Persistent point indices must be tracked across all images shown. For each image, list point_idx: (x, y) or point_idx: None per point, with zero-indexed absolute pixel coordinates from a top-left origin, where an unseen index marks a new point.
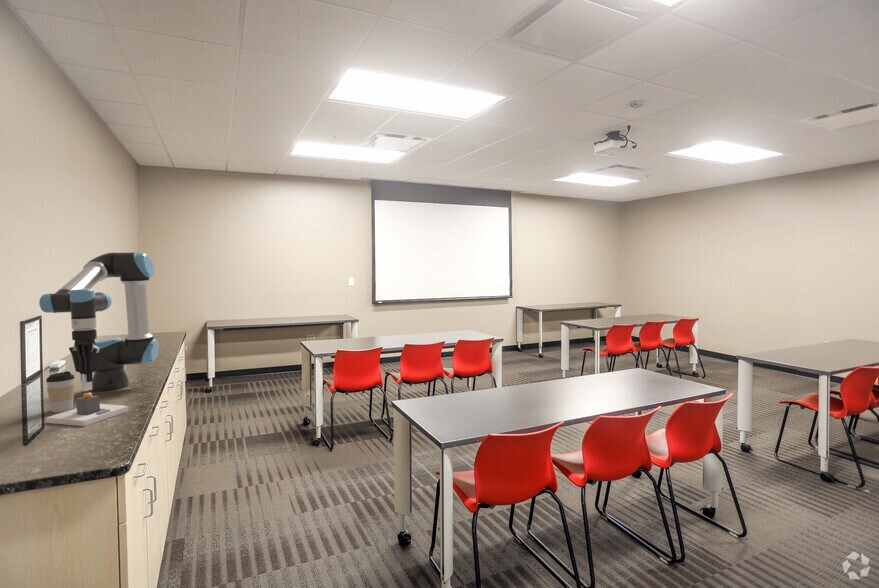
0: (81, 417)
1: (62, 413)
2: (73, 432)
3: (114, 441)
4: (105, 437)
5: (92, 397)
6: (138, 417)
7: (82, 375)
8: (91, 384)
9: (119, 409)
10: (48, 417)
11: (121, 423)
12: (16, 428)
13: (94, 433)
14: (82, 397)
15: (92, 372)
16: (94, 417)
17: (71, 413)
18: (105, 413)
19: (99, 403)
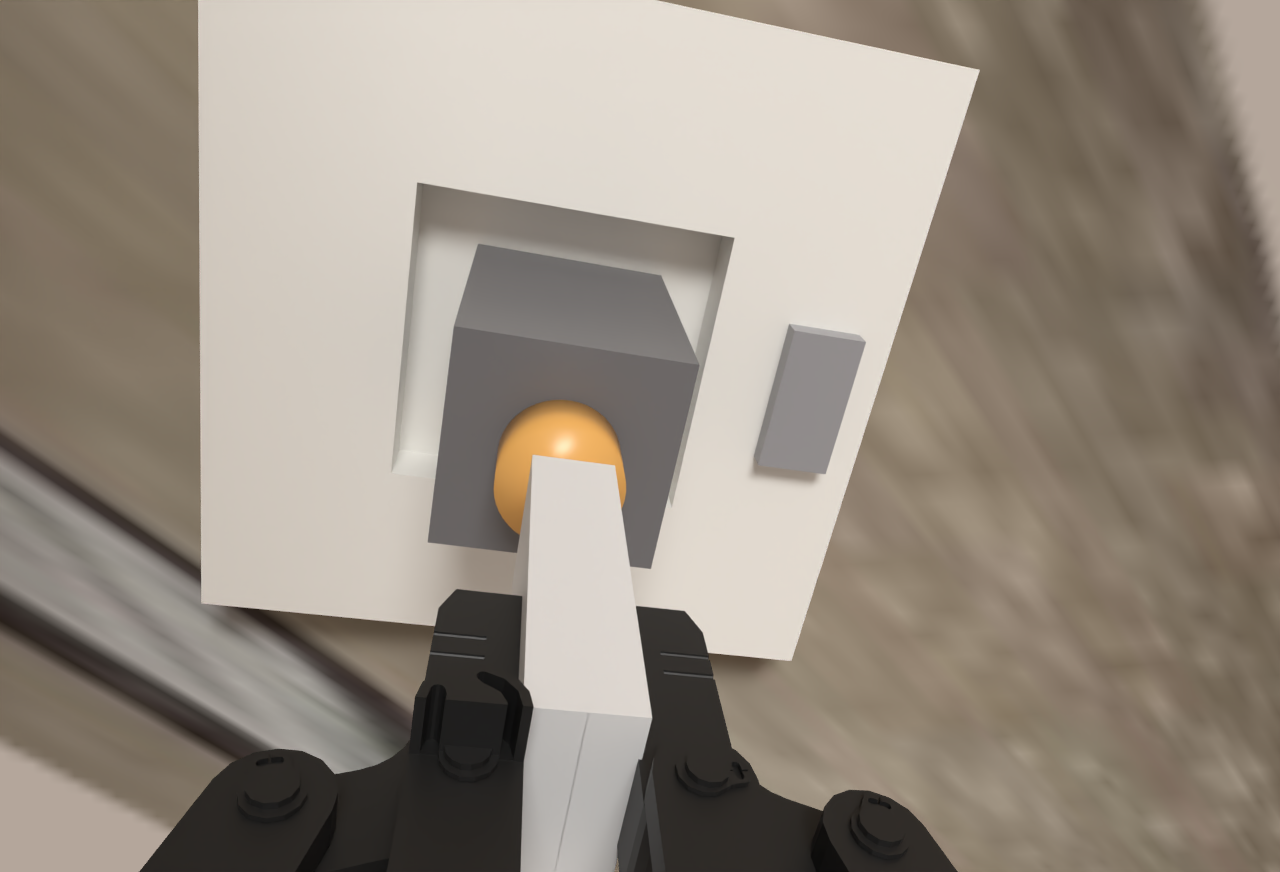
0: (662, 574)
1: (250, 456)
2: (792, 757)
3: (1256, 865)
4: (1147, 815)
5: (651, 458)
6: (1209, 335)
7: (530, 850)
8: (621, 534)
9: (925, 230)
10: (234, 601)
11: (1110, 527)
12: (83, 724)
13: (1001, 759)
14: (466, 468)
15: (769, 808)
16: (821, 563)
17: (379, 446)
18: (855, 424)
19: (680, 321)
